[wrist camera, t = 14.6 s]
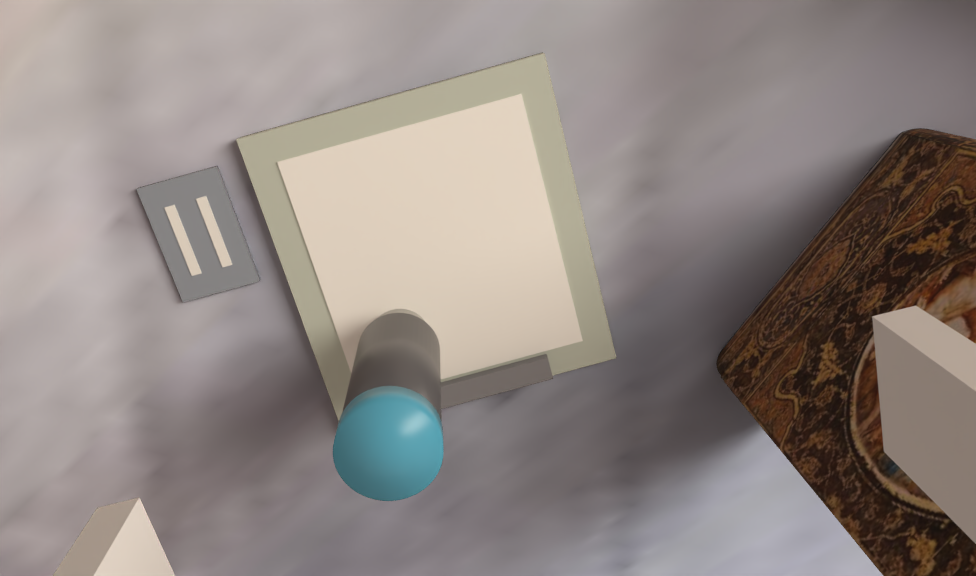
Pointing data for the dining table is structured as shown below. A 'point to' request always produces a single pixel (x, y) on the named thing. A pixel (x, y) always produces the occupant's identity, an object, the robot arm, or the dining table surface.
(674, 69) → the dining table surface
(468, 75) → the cream square framed board
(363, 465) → the marker
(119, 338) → the dining table surface
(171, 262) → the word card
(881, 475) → the book
